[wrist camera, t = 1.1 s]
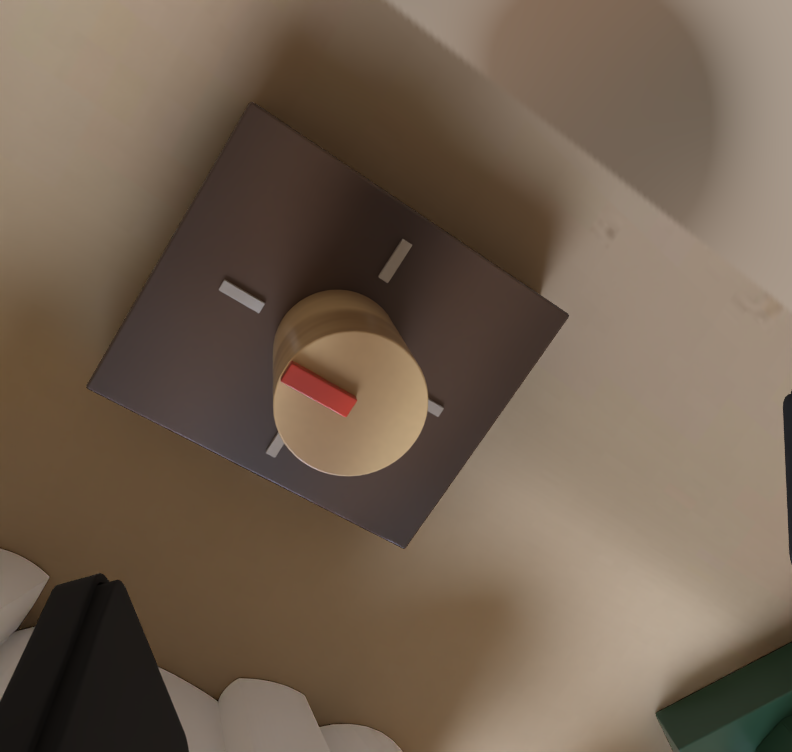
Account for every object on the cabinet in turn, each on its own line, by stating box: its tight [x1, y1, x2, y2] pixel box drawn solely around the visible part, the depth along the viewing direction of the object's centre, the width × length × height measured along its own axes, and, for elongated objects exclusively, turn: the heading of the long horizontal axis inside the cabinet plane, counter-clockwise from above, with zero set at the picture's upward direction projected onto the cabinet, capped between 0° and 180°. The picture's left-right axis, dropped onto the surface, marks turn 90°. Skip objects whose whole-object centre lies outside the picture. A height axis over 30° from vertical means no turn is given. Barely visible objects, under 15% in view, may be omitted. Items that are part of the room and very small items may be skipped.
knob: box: [273, 290, 428, 476], centre depth 21 cm, size 4×4×5 cm
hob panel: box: [87, 102, 569, 549], centre depth 25 cm, size 12×10×3 cm
